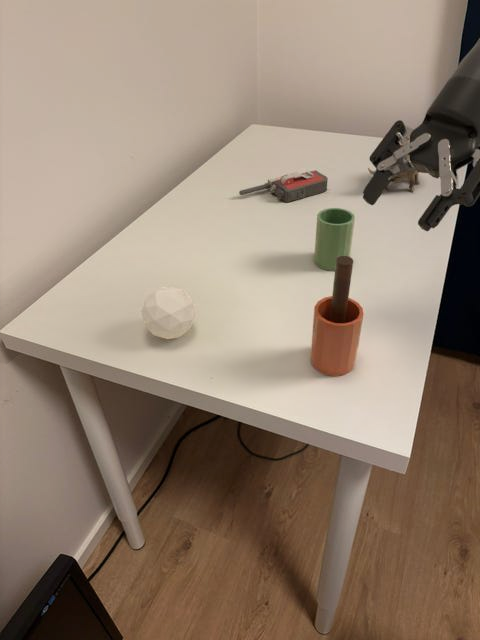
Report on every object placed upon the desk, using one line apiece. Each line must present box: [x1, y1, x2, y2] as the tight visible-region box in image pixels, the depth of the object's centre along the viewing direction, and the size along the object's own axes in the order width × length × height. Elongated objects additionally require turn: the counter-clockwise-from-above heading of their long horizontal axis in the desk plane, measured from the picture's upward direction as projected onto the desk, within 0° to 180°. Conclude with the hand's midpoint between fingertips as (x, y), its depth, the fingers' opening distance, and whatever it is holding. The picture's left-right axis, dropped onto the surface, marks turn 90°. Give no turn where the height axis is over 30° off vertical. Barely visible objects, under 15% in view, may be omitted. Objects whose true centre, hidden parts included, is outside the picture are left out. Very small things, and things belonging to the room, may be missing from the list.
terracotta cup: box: [310, 295, 365, 377], centre depth 65 cm, size 6×6×9 cm
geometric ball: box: [140, 286, 197, 340], centre depth 72 cm, size 8×8×8 cm
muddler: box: [330, 256, 354, 323], centre depth 63 cm, size 4×4×16 cm
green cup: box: [313, 207, 356, 272], centre depth 85 cm, size 6×6×9 cm
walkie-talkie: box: [238, 170, 329, 203], centre depth 108 cm, size 9×4×20 cm
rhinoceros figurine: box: [367, 140, 421, 193], centre depth 108 cm, size 8×14×15 cm
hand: (393, 214), depth 59 cm, fingers open, 8 cm apart
